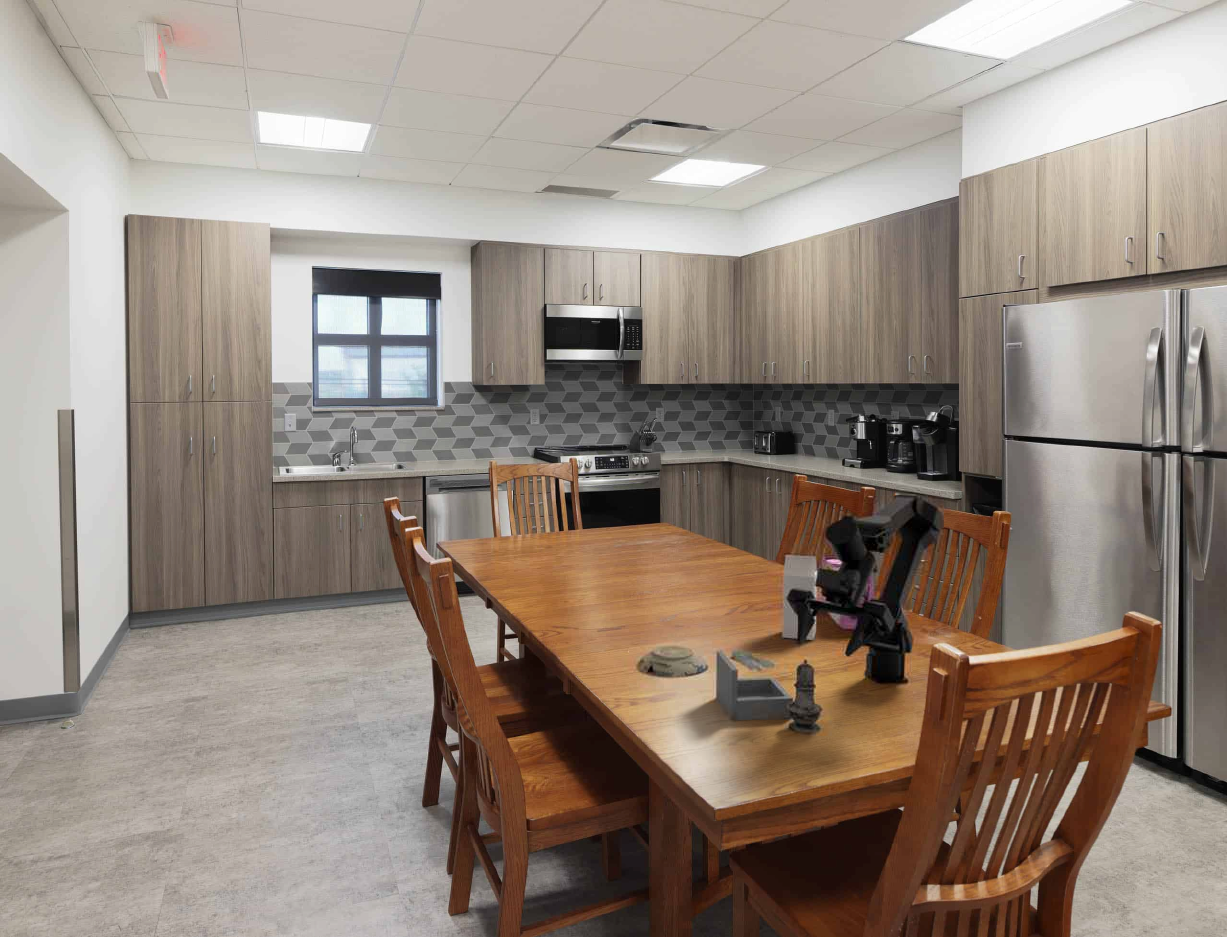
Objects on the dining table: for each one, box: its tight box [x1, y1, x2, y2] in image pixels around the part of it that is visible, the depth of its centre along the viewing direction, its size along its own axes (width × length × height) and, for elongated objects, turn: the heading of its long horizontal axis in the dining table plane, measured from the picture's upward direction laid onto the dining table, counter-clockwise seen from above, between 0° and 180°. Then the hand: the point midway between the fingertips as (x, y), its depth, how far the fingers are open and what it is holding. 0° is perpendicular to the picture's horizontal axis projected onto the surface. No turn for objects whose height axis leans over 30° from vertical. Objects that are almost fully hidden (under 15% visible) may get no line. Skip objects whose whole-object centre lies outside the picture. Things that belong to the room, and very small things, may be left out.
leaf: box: [732, 650, 779, 674], centre depth 171 cm, size 20×8×1 cm, turn 12°
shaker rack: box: [715, 650, 794, 721], centre depth 149 cm, size 11×11×9 cm
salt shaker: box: [787, 658, 823, 735], centre depth 140 cm, size 6×6×12 cm
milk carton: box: [781, 554, 818, 641], centre depth 194 cm, size 7×7×19 cm
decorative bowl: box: [637, 645, 709, 678], centre depth 173 cm, size 15×4×15 cm
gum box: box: [821, 556, 875, 630], centre depth 210 cm, size 24×8×14 cm, turn 179°
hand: (822, 649), depth 144 cm, fingers open, 9 cm apart
